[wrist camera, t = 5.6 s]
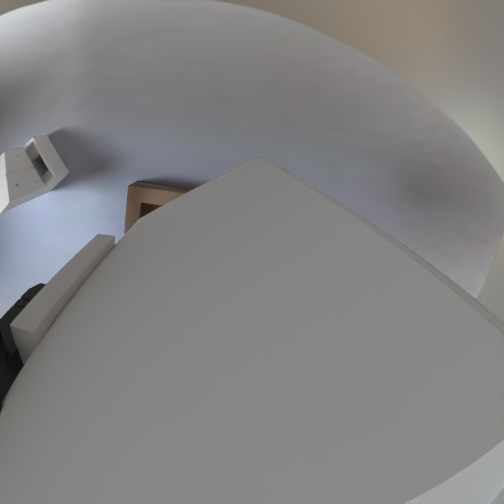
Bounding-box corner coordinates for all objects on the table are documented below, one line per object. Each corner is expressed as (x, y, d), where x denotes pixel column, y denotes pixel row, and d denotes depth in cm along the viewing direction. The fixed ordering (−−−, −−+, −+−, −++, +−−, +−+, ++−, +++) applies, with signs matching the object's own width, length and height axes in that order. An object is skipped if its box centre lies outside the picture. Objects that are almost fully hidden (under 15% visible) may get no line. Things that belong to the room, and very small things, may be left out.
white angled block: (59, 226, 29) (0, 213, 20) (44, 161, 30) (-5, 140, 22) (79, 207, 28) (19, 189, 20) (62, 143, 30) (13, 117, 21)
